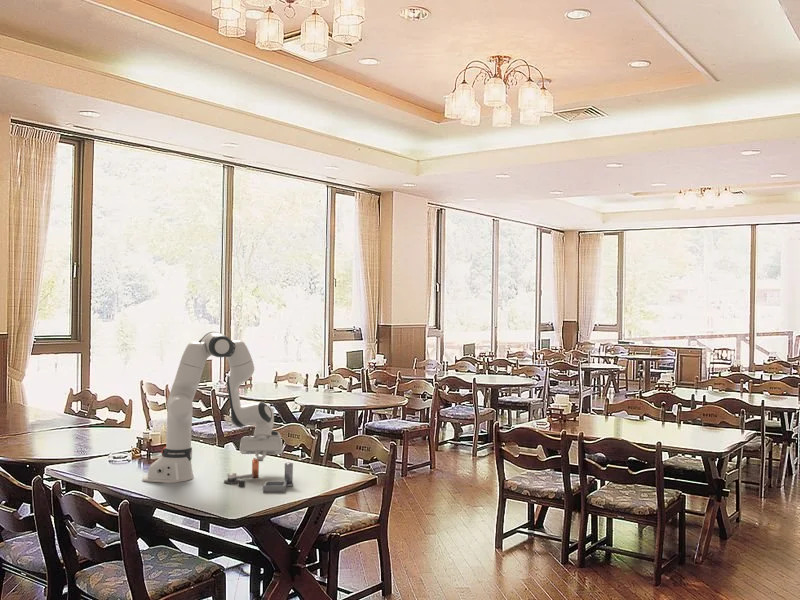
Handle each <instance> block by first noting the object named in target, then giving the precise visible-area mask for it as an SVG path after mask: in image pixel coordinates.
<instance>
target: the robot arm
mask: <svg viewBox="0 0 800 600" xmlns="http://www.w3.org/2000/svg"><path fill="white" fill-rule="evenodd" d="M211 356H213V357H216V358H226V360H227V362H228V366H229V369H230V373H229V376H228V377H227V384H226V385H227V392H228V399H229V405H230V418H231V422H232V424H233V425H235V426H236V427H238V428H242V427H246V426H249V425H250V426H251V425H255V428H254V432H253V435H249V436H247V435H244V436H243V437H241V439H240V445H239V446H240V447H239V454H241V455H255V458H256V459H258V460H259V462H264V459H265V458H266V457H267V455H281V454H282V453H283V452H284V451H283V441H282V436H281V435H282V434H281V433H280V432H279V431H276V430H273V428H274V423H275V415H274V414H275V413H274V409H273V408H272V407H271V406H269V405H267V403H266V402H263V401H258V402H253V403H250V404H245V405H242V404H241V400H240V392H239V388H240V386H241V385H242V384H243V383H245V382H247V381H248V380H250V378H251V377H252V376H253V374H254V371H255V364H254V361H253V359H252V357H251V356H252V355H251V353H250V350H249V348H248V346H247V345H246V343H245V342H244V341H243V340H242V339H241V340H238V339H237V340H231V338H230V337H228V336H227V335H226V334H224V333H222V332H218V331H211V332H208V333H206V334H204V336H203V337H202V338H201V339H199V341H192V342H189V343H188V344H187V345H186V347H185V349H184V351H183V354H182V356H181V359H180V362H179V365H178V369H177V371H176V375H175V379H174V381H173V383H172V387H171V388H170V393H169V395H168V398H167V401H166V408H167V409H166V410H167V411H166V412H167V413H166V416H167V417H166V435H165V436H166V437H165V438H166V441H165V442H166V446H164V447H163V448H162V449H161V451H160V452H161V456H160V457H158V459H156V460H155V461H153V462H152V463H151V464H150V465H149V467H148V471H147V474H145V475H143V477H142V482H148V483H149V482H150V483H167V484H175V483H179V482H185V481H191V480H193V479H194V478H195V476H194V473H193V472H194V471H193V465H192V458H193V450H192V449H193V447H192V427H193V426H192V425H193V411H194V410H193V401H194V398H195V396H196V393H197V390H198V387H199V384H200V382H201V378H202V376H203V375H202V374H203V372H204V368H205V366H206V365H205V364H206V362H207V360H208V359H209V357H211ZM260 455H262V456H260Z"/></svg>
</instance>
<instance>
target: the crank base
mask: <svg viewBox="0 0 800 600" xmlns="http://www.w3.org/2000/svg"><path fill="white" fill-rule="evenodd" d="M240 480H241V479H237V480H236V481H228V480H227V479H224V480H223V483H224V484H225V485H237V484H239V481H240Z"/></svg>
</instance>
